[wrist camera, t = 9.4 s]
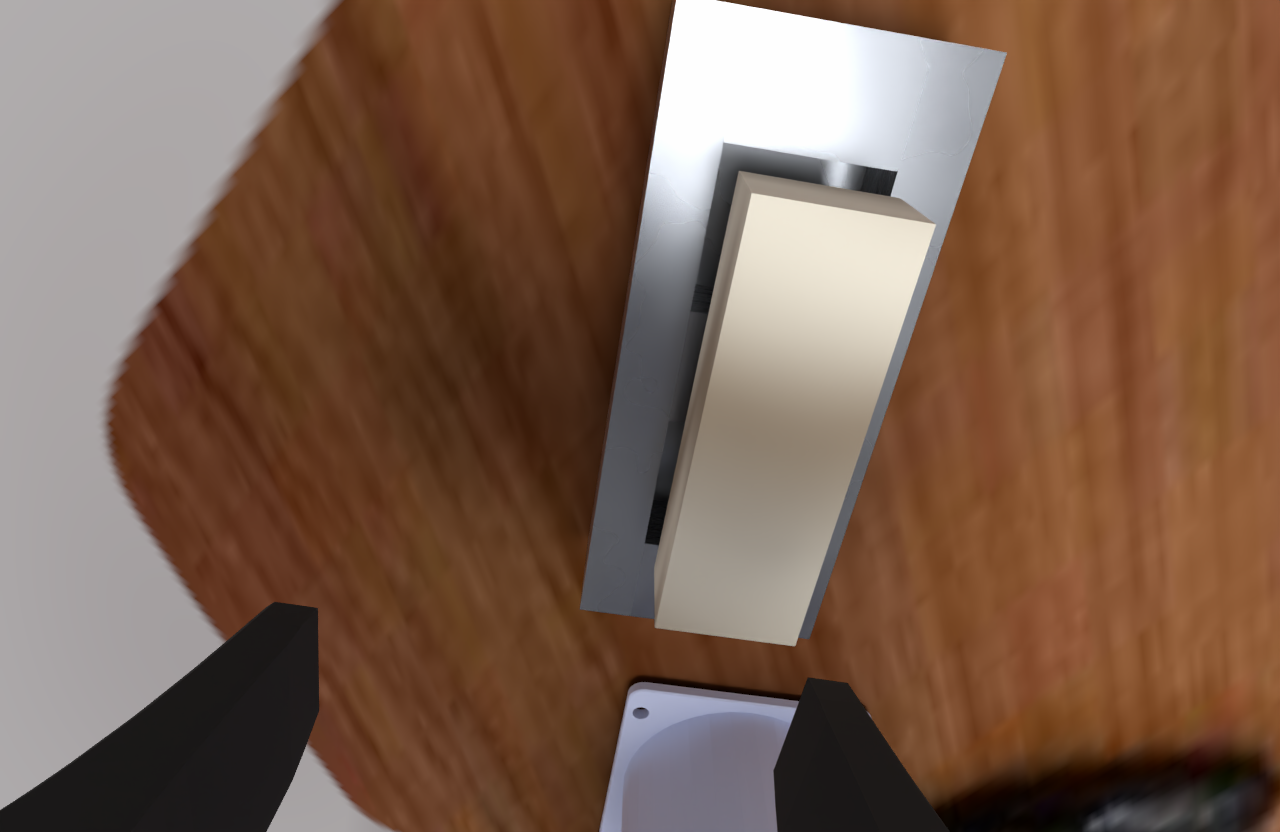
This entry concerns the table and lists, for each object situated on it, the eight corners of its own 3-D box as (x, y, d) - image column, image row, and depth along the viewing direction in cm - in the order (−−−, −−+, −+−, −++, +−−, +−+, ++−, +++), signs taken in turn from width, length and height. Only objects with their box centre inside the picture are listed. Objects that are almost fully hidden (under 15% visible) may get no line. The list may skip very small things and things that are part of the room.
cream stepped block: (764, 512, 21) (795, 646, 17) (653, 496, 21) (654, 627, 16) (860, 169, 17) (935, 224, 12) (724, 145, 17) (751, 192, 12)
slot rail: (790, 566, 23) (809, 639, 20) (588, 539, 23) (579, 609, 20) (949, 47, 17) (1007, 52, 14) (672, -3, 16) (677, -7, 14)
